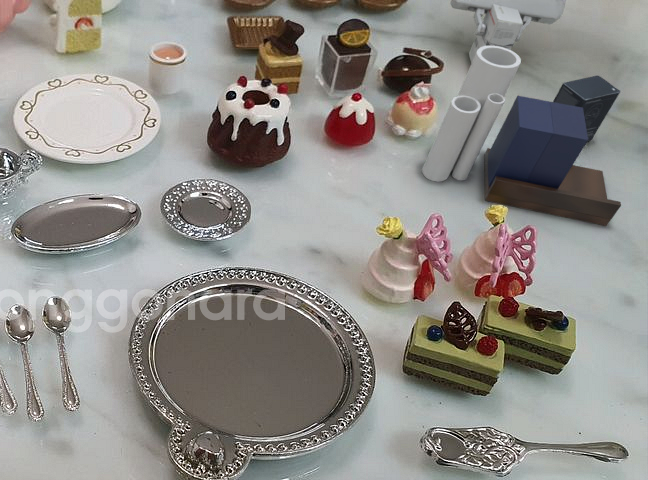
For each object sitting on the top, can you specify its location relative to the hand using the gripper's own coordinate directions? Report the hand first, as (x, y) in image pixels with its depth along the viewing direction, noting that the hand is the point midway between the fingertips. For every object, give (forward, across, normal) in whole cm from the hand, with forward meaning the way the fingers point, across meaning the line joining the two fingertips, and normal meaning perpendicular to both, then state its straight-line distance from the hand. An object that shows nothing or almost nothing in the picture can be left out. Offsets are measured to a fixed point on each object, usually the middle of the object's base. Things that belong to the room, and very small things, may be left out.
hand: (496, 37), depth 148 cm
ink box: (+4, 0, +5) cm, 7 cm away
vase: (+30, -6, -20) cm, 37 cm away
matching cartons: (+29, +5, -22) cm, 37 cm away
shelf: (+30, +9, -21) cm, 38 cm away
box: (+18, +14, -9) cm, 25 cm away
